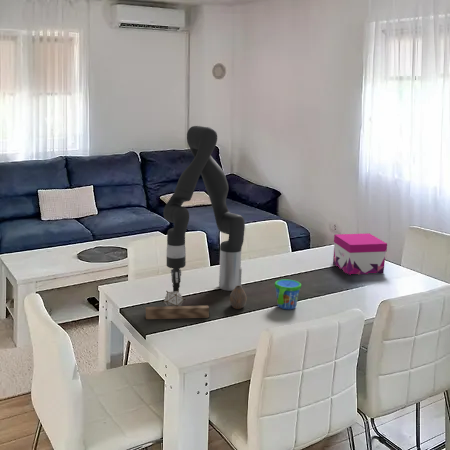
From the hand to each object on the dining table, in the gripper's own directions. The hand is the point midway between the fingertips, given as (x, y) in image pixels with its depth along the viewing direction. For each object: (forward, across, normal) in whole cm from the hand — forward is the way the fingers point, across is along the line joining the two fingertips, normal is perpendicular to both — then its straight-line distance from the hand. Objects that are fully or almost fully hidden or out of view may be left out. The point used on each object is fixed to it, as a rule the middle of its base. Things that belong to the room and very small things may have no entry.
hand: (175, 295), depth 247 cm
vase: (+4, -3, -25) cm, 25 cm away
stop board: (+4, -12, 0) cm, 13 cm away
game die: (+4, -5, +1) cm, 7 cm away
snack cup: (+5, -4, -45) cm, 45 cm away
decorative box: (+6, +44, -92) cm, 102 cm away
